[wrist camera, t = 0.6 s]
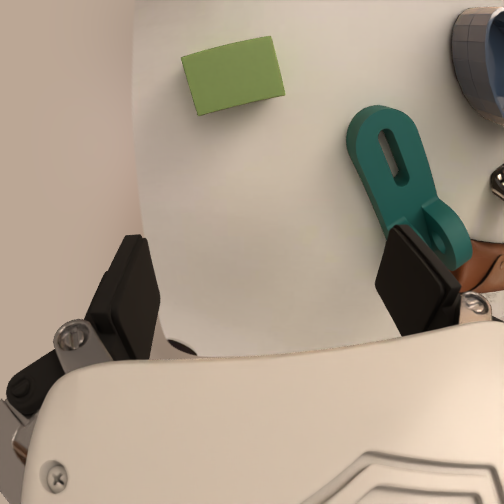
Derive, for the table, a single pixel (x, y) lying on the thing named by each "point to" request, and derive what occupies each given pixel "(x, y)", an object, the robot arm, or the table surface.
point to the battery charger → (498, 182)
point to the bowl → (481, 60)
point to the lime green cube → (233, 75)
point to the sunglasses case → (482, 268)
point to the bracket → (405, 183)
